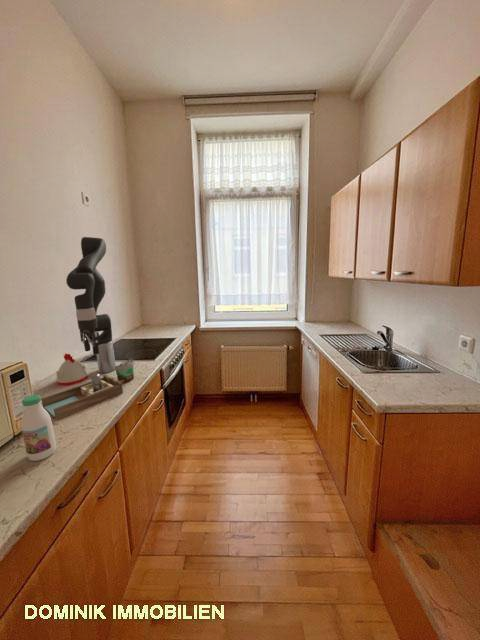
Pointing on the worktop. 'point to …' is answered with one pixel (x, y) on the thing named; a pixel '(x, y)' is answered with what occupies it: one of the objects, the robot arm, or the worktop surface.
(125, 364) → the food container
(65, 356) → the kitchen timer
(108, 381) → the bay
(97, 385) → the grey beige boxy piece
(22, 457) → the worktop surface
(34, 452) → the milk bottle
